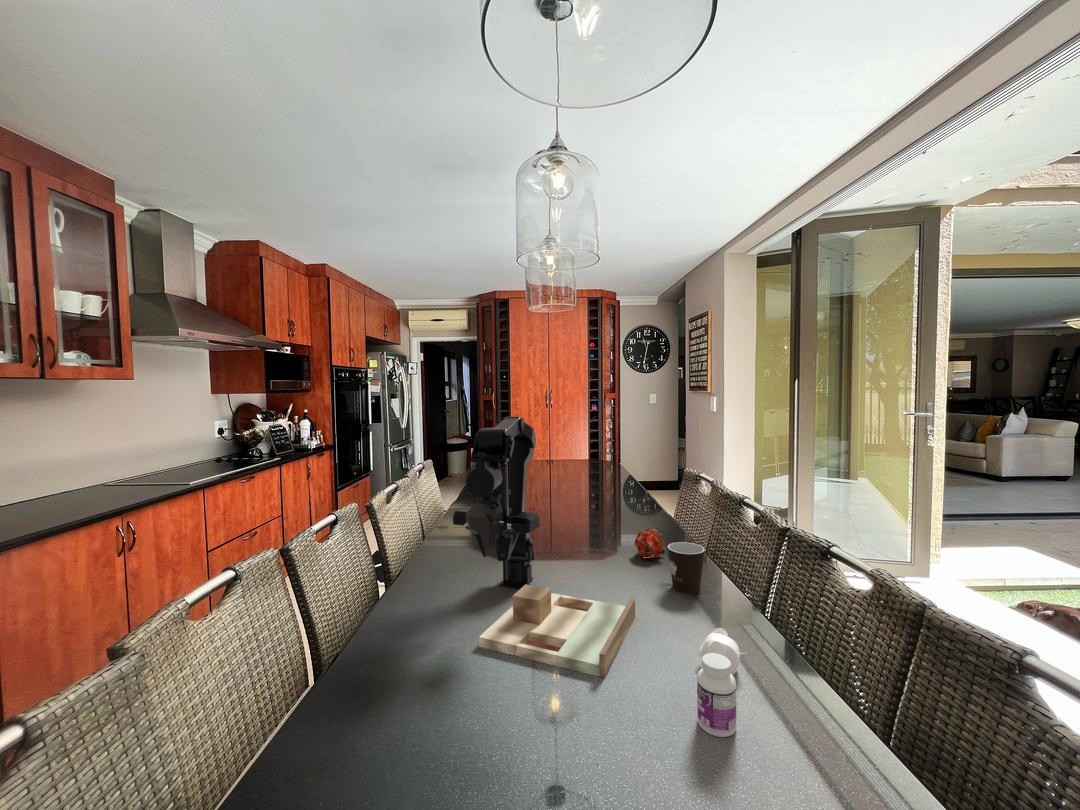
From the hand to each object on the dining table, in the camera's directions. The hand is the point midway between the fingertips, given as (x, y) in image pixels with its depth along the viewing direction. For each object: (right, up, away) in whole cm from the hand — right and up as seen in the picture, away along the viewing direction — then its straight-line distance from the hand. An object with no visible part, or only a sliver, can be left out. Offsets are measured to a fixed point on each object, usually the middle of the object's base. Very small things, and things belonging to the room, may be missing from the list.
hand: (496, 558), depth 100 cm
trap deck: (+13, -13, -6) cm, 19 cm away
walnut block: (+8, -11, -3) cm, 14 cm away
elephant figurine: (+41, -13, -19) cm, 47 cm away
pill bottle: (+35, -14, -33) cm, 50 cm away
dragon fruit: (+42, -11, +35) cm, 56 cm away
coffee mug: (+46, -12, +15) cm, 50 cm away
